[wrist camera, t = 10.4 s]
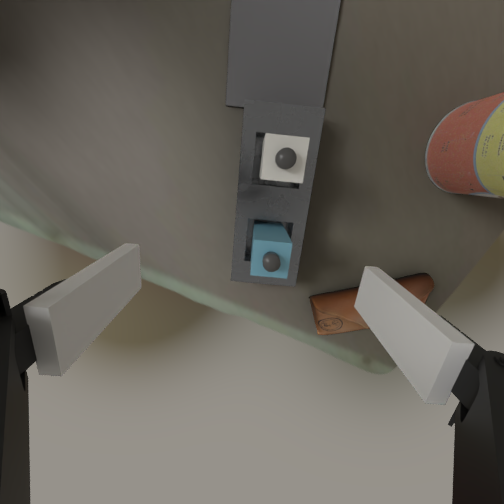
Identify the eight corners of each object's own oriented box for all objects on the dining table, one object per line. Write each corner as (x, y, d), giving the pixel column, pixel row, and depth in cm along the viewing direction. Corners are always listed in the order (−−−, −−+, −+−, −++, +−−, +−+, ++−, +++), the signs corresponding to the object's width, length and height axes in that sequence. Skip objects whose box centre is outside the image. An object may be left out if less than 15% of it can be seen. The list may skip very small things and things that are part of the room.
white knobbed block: (259, 176, 33) (261, 179, 22) (262, 144, 32) (266, 131, 21) (288, 179, 33) (305, 184, 22) (293, 147, 32) (312, 135, 21)
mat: (226, 105, 31) (225, 105, 30) (232, -18, 27) (232, -21, 27) (320, 116, 31) (321, 115, 31) (340, -6, 27) (342, -8, 27)
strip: (291, 274, 38) (295, 286, 34) (233, 269, 38) (230, 280, 34) (316, 115, 31) (325, 108, 27) (245, 107, 31) (244, 99, 27)
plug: (251, 247, 36) (250, 279, 25) (254, 220, 35) (253, 242, 24) (278, 250, 36) (288, 283, 25) (282, 223, 35) (294, 246, 24)
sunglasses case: (316, 338, 42) (322, 345, 35) (305, 297, 43) (309, 296, 37) (425, 317, 40) (453, 319, 34) (410, 275, 42) (433, 269, 35)
